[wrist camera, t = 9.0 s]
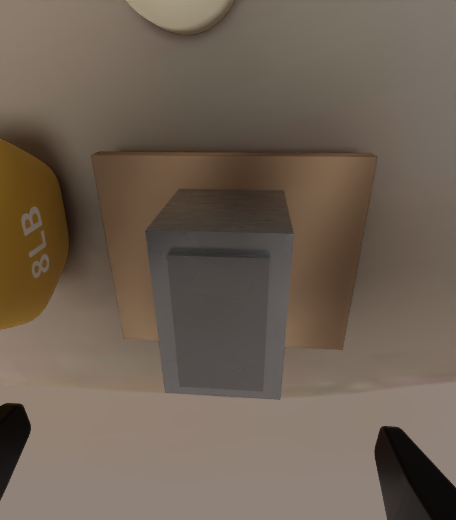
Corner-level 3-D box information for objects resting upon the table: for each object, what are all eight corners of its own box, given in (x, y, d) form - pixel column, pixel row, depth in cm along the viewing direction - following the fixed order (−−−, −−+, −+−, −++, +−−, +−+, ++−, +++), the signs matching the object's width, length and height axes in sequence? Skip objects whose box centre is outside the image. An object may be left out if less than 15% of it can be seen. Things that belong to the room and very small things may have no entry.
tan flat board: (361, 147, 16) (377, 157, 14) (333, 321, 21) (342, 349, 18) (113, 146, 17) (90, 155, 15) (137, 312, 22) (123, 338, 19)
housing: (275, 322, 18) (280, 405, 13) (188, 318, 18) (163, 398, 14) (283, 190, 15) (294, 237, 10) (178, 188, 15) (142, 234, 11)
